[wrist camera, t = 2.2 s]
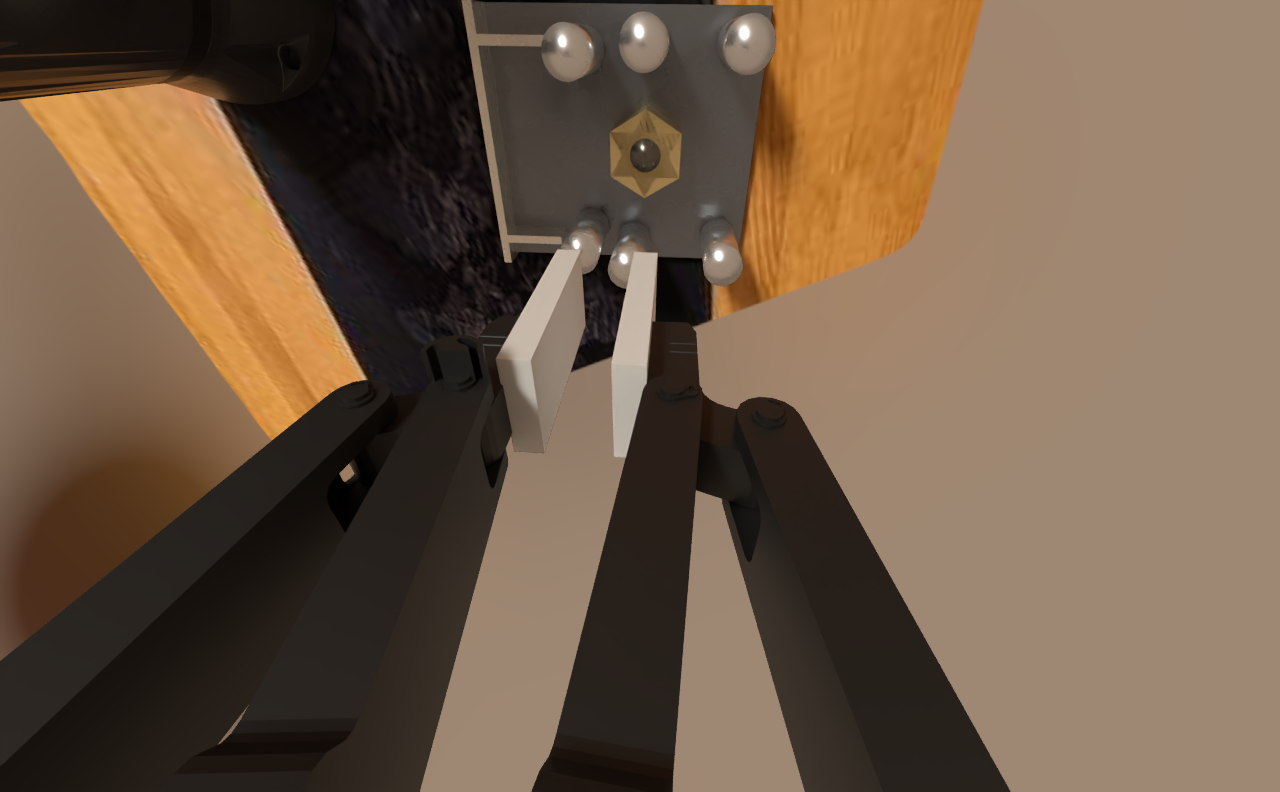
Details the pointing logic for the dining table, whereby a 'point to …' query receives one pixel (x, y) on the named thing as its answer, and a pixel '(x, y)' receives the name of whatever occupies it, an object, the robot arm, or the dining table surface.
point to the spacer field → (601, 98)
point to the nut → (645, 151)
